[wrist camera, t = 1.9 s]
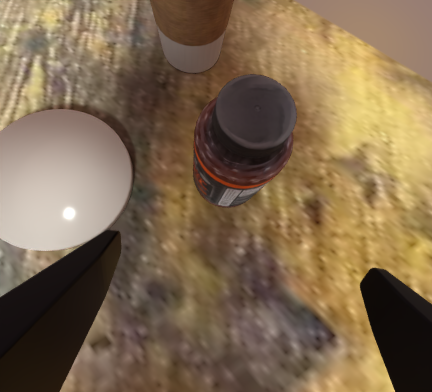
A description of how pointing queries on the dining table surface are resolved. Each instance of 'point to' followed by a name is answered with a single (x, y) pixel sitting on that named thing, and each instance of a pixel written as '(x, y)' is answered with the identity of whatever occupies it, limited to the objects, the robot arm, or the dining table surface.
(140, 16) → the dining table surface
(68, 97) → the dining table surface
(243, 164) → the supplement bottle
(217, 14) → the coffee cup
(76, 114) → the beige flattened disc
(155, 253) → the dining table surface
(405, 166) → the dining table surface
